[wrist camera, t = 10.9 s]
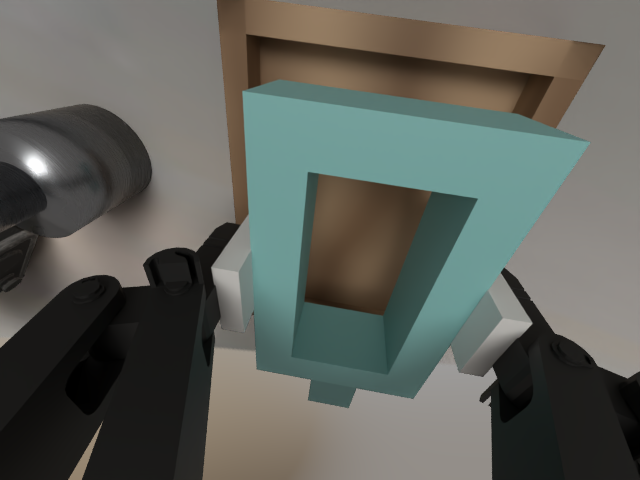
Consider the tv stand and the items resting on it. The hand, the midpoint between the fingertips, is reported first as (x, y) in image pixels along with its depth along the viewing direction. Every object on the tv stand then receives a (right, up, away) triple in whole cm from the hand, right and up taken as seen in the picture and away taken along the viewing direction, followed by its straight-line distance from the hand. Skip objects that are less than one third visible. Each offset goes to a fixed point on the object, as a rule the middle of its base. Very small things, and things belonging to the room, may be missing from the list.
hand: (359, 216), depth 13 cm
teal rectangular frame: (0, -1, -2) cm, 2 cm away
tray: (0, +1, +3) cm, 3 cm away
